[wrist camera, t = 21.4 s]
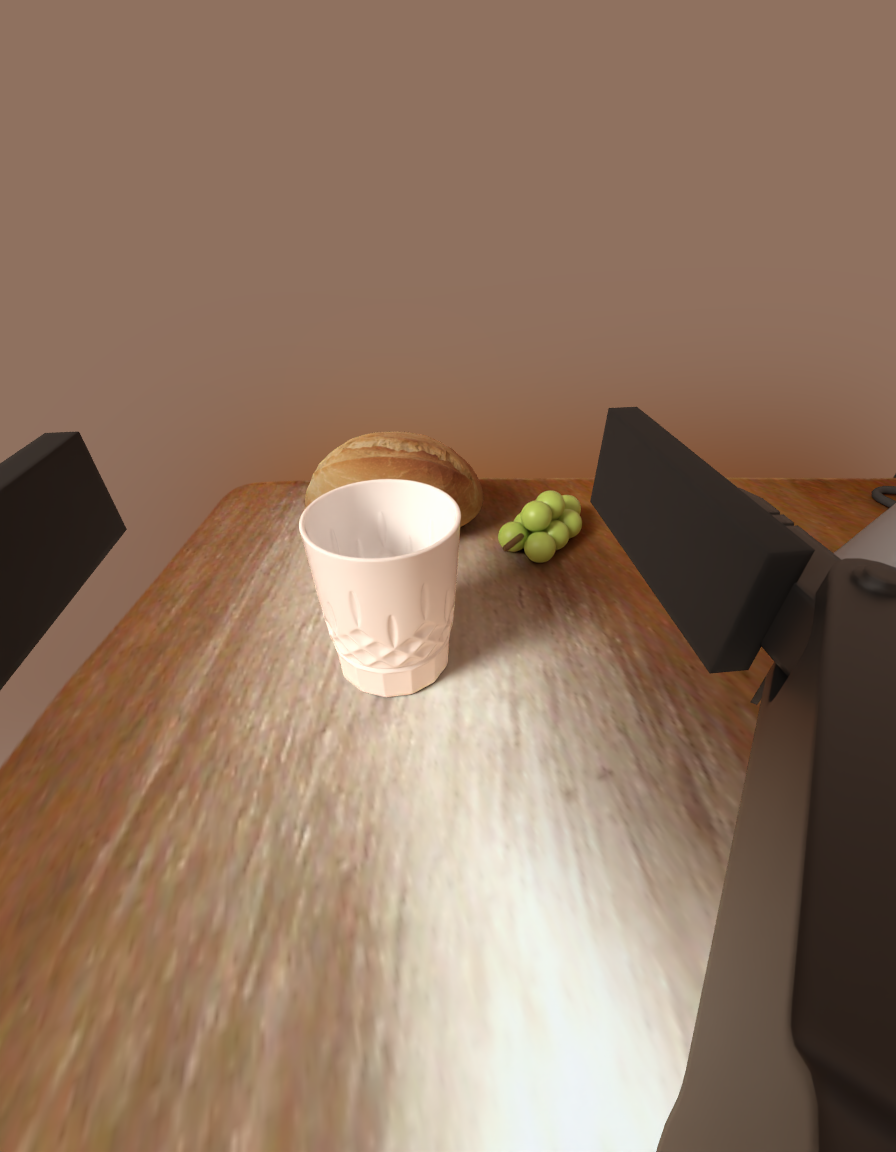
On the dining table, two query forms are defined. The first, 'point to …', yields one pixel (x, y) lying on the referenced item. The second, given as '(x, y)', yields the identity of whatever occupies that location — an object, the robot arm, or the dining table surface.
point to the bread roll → (400, 467)
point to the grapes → (543, 526)
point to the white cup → (385, 579)
